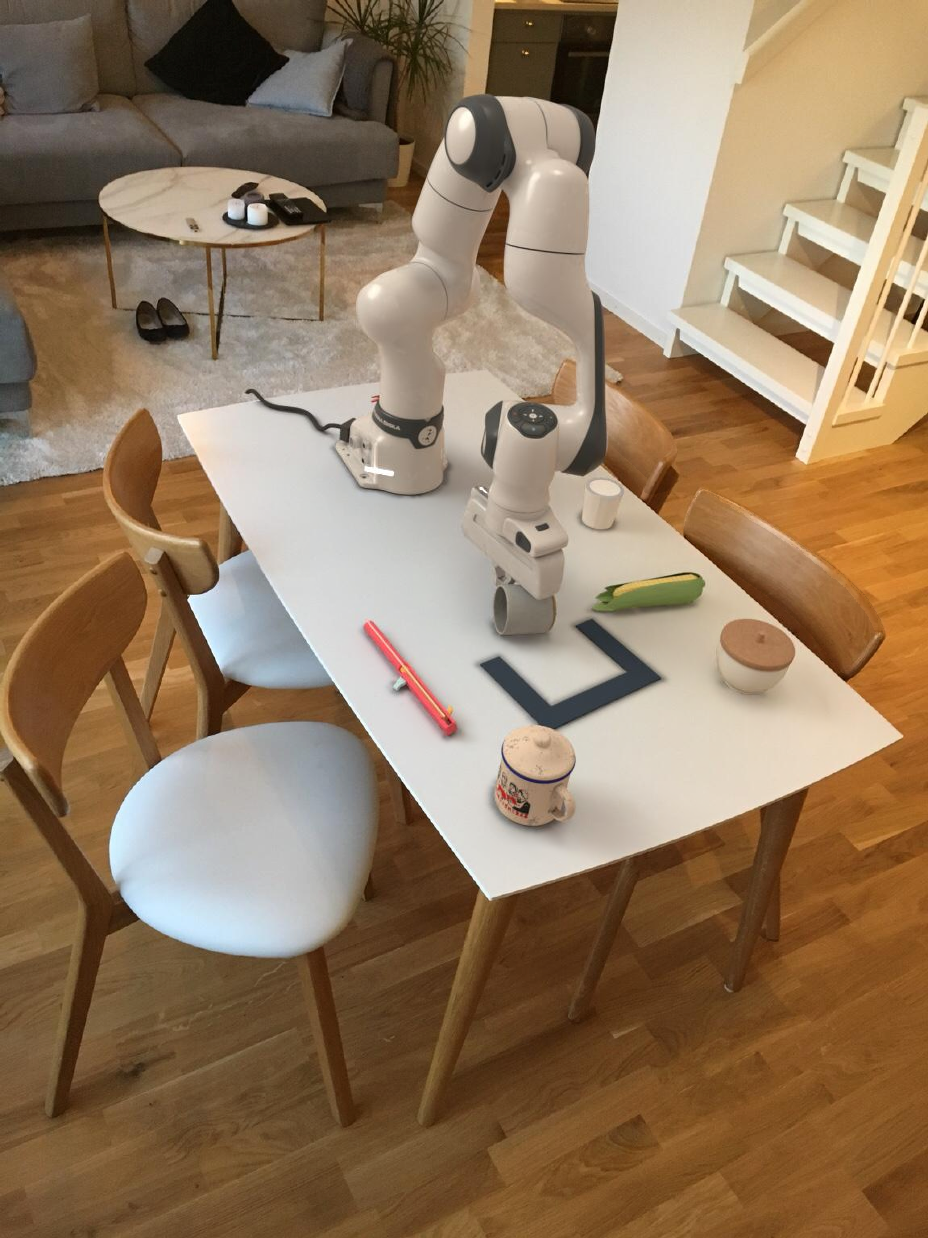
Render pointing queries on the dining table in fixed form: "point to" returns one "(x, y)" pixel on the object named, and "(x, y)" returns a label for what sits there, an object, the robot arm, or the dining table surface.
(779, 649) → the trinket box
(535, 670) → the dining table surface
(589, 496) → the white faceted cylinder
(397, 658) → the red striped bar
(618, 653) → the dark grey flat piece
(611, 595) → the edible corn
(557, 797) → the teacup with lid
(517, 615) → the ceramic mug
